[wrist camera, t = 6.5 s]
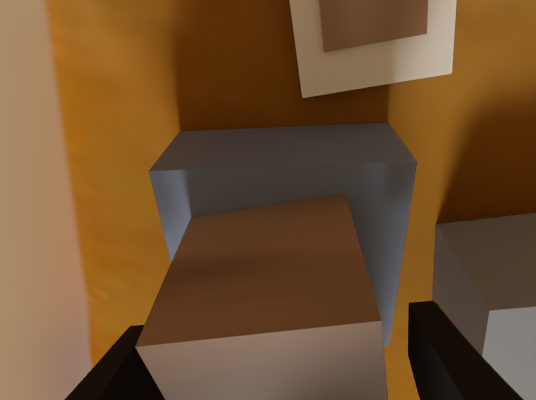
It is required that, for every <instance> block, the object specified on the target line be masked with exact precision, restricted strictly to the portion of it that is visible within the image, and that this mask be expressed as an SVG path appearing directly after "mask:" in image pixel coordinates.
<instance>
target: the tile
mask: <svg viewBox="0 0 536 400" xmlns="http://www.w3.org/2000/svg"><path fill="white" fill-rule="evenodd" d="M456 1H457V0H289V2H290V9H291V17H292V24H293V32H294V39H295V47H296V54H297V62H298V70H299V77H300V85H301V92H302V98H306V97H312V96H318V95H324V94H331V93H337V92H343V91H349V90H355V89H361V88H367V87H373V86H379V85H385V84H391V83H397V82H403V81H409V80H415V79H421V78H427V77H433V76H439V75H445V74H451V73H452V63H453V47H454V32H455V17H456Z"/></svg>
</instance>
